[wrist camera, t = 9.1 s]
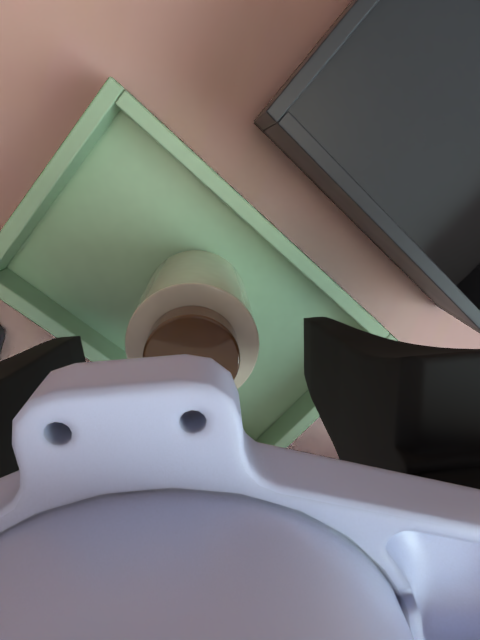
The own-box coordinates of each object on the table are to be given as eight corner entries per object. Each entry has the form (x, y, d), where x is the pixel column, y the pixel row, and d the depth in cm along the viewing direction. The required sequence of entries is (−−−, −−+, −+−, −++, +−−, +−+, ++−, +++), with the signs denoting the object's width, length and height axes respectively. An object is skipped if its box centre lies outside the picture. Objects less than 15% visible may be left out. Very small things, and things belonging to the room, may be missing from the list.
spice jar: (266, 293, 19) (292, 352, 13) (203, 362, 20) (201, 445, 14) (189, 228, 18) (180, 261, 12) (126, 304, 19) (89, 369, 13)
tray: (382, 325, 20) (399, 341, 19) (254, 450, 22) (257, 475, 21) (120, 84, 16) (109, 75, 14) (-10, 266, 18) (-34, 277, 16)
